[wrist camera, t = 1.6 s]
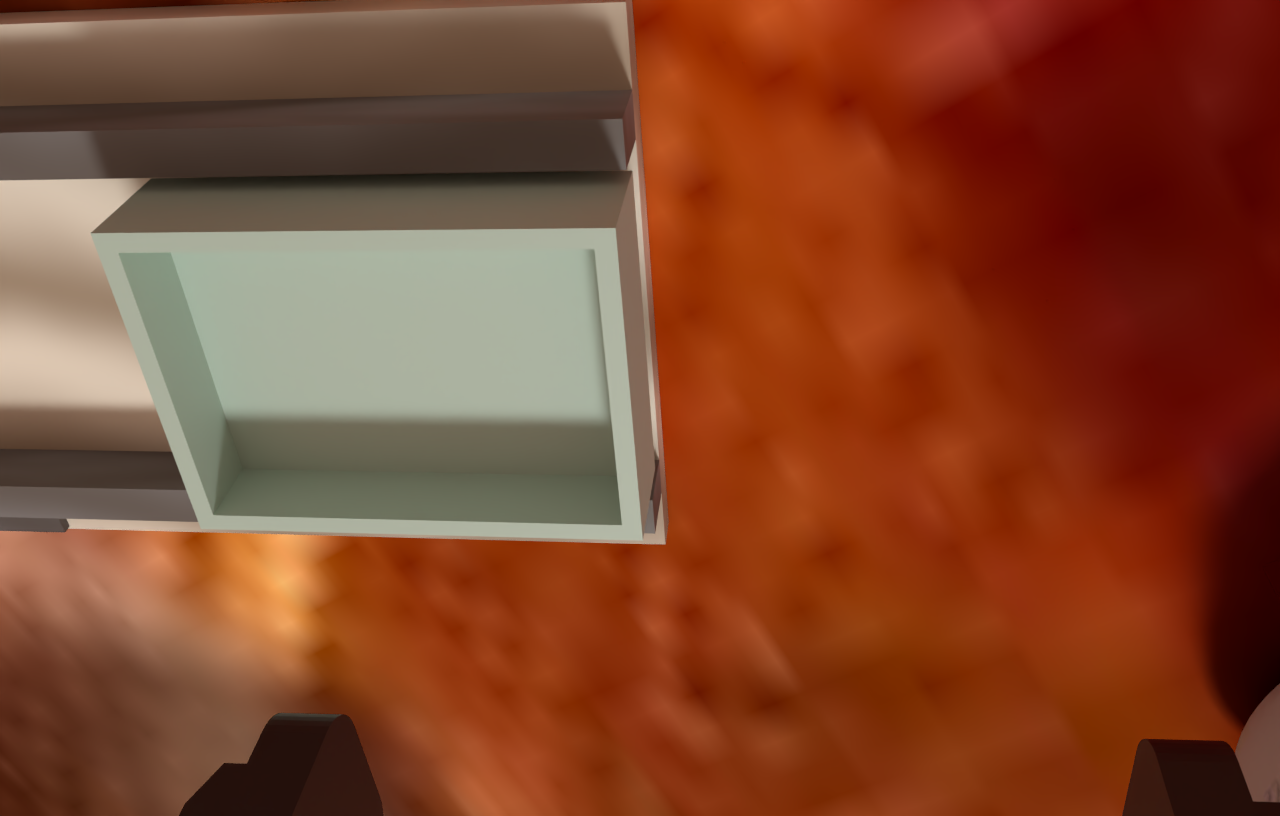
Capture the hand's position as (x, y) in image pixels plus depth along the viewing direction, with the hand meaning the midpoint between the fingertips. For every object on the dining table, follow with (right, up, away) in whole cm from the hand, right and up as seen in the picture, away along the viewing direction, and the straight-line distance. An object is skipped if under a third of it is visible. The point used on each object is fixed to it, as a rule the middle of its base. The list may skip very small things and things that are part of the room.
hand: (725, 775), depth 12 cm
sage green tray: (-7, +6, +19) cm, 21 cm away
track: (-12, +7, +21) cm, 25 cm away
